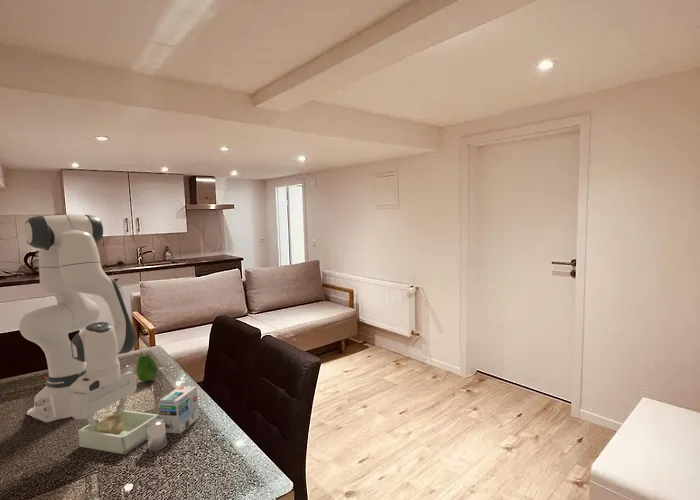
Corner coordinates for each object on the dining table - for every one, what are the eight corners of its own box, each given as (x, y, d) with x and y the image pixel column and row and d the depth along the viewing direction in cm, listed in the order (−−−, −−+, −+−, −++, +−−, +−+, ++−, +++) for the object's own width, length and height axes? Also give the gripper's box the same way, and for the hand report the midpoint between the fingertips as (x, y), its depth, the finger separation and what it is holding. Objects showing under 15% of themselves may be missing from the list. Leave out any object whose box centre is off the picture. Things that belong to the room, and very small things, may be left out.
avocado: (133, 384, 166) (130, 355, 165) (149, 376, 173) (146, 349, 172) (147, 386, 163) (144, 357, 162) (162, 378, 170) (160, 351, 169)
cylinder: (144, 449, 117) (141, 426, 116) (157, 440, 121) (155, 418, 121) (157, 452, 115) (155, 428, 114) (170, 442, 120) (168, 420, 119)
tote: (79, 446, 120) (77, 430, 120) (118, 423, 133) (116, 409, 133) (124, 454, 115) (123, 437, 114) (160, 429, 128) (159, 414, 127)
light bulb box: (180, 434, 124) (177, 400, 123) (161, 433, 126) (158, 400, 125) (200, 417, 135) (197, 386, 134) (182, 416, 136) (179, 385, 135)
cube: (110, 438, 122) (108, 422, 121) (97, 436, 123) (96, 421, 123) (123, 430, 127) (122, 414, 126) (111, 428, 128) (110, 413, 128)
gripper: (124, 362, 134) (128, 402, 135) (64, 388, 115) (69, 434, 116) (139, 364, 132) (142, 404, 133) (80, 390, 113) (85, 437, 114)
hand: (108, 418), depth 125 cm, fingers open, 8 cm apart
